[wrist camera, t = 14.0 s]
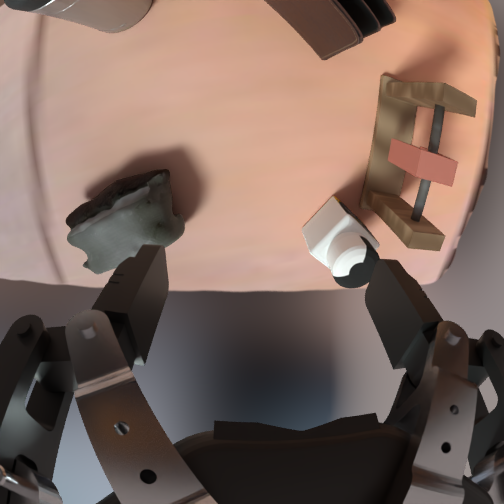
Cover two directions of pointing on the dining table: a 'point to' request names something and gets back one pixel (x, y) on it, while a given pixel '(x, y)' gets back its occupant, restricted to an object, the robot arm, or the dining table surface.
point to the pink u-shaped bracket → (422, 162)
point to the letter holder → (334, 21)
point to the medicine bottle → (342, 244)
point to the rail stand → (401, 128)
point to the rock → (125, 220)
